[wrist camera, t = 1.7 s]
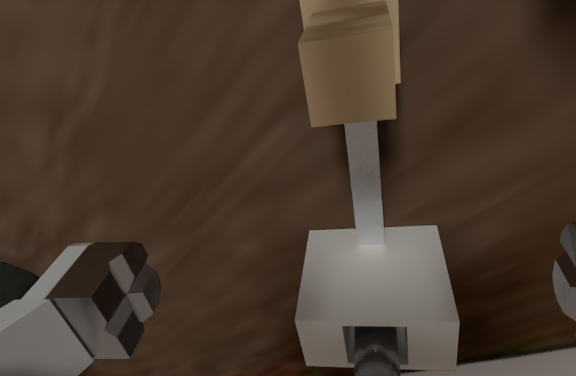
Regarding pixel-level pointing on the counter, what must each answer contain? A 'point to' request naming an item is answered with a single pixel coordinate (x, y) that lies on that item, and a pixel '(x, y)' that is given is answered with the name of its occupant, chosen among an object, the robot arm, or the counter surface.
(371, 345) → the plunger
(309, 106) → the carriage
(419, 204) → the counter surface
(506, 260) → the counter surface
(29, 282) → the candle
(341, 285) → the housing
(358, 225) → the rail
